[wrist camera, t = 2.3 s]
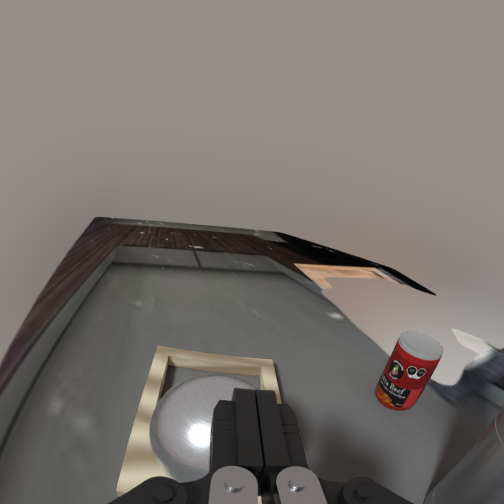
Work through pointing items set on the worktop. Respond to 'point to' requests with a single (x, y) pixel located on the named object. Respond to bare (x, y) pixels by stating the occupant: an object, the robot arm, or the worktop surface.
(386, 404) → the canned food
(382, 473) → the worktop surface
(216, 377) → the ball
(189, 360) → the hole board
